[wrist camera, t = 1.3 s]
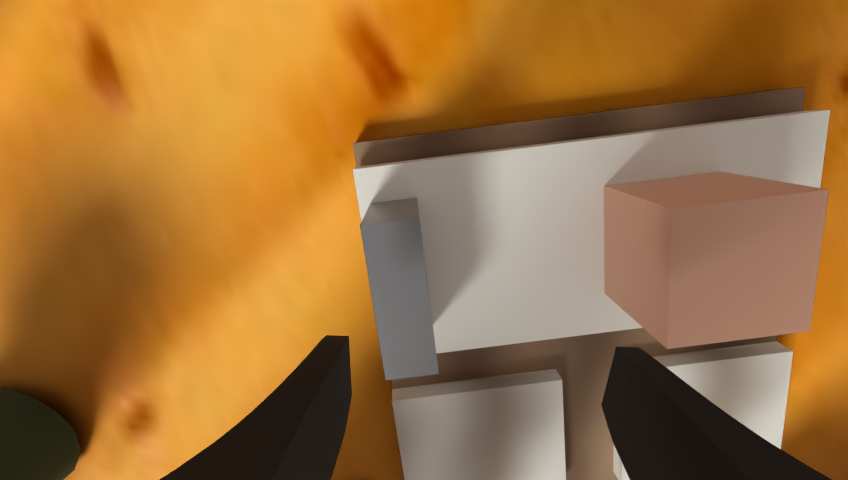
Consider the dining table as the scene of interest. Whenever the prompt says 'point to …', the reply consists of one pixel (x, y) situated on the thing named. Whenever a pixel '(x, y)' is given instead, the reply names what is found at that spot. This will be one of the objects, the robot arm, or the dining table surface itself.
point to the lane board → (568, 341)
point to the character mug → (34, 440)
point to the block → (713, 256)
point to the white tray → (534, 230)
